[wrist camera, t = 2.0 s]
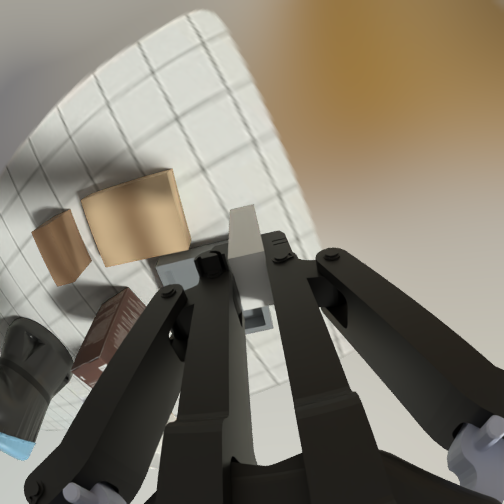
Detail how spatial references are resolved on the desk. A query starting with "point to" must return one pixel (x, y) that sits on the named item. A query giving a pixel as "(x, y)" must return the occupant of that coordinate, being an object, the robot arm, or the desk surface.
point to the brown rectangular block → (62, 248)
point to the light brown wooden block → (138, 219)
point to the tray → (185, 273)
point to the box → (106, 335)
